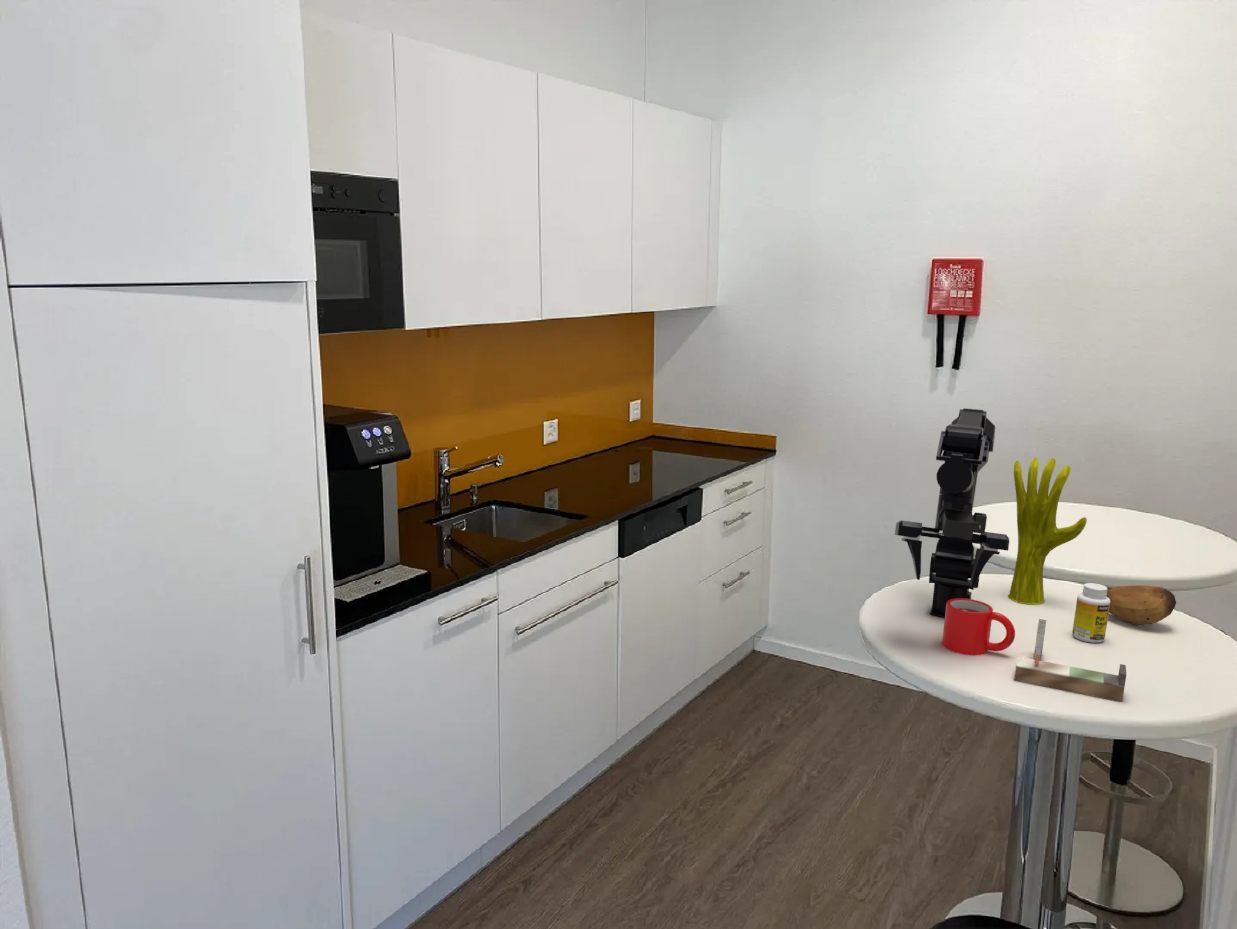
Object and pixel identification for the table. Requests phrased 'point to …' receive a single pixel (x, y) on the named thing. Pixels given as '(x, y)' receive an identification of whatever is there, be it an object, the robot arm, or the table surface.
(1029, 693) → the table surface
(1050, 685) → the gauge rail
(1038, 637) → the grey flat piece
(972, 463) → the robot arm
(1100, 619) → the supplement bottle
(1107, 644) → the table surface
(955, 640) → the mug
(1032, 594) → the glove
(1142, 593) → the potato
